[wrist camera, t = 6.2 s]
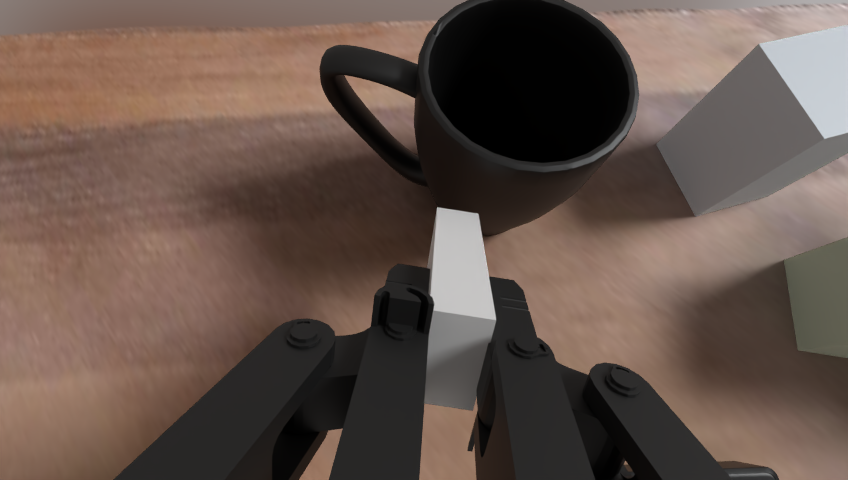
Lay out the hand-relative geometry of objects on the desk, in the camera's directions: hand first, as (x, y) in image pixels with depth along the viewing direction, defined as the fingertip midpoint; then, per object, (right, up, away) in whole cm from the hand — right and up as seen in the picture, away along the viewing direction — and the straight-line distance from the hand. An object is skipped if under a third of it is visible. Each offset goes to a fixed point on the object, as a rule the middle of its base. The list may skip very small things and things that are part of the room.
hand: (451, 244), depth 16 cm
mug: (0, +3, +9) cm, 10 cm away
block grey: (+16, +4, +10) cm, 20 cm away
